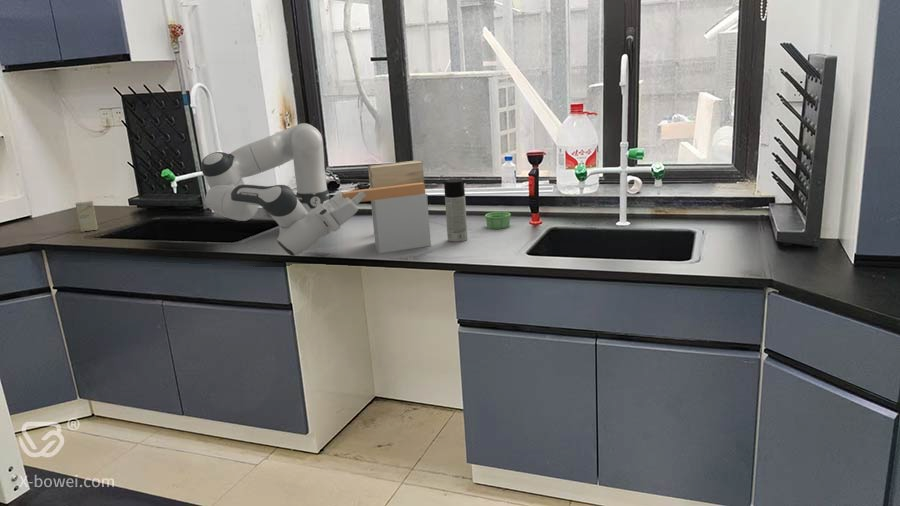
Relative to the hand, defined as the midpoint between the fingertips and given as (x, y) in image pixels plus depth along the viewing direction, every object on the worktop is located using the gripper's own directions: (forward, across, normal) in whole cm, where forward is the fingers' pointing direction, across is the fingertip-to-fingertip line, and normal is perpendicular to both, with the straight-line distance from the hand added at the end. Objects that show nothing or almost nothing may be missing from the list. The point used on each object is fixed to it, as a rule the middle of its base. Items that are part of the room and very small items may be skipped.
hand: (361, 191), depth 203 cm
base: (0, 0, -23) cm, 23 cm away
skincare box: (-94, -101, +31) cm, 141 cm away
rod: (+5, 0, -6) cm, 8 cm away
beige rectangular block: (+2, -9, -24) cm, 26 cm away
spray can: (+16, +1, -33) cm, 36 cm away
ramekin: (+32, -9, -42) cm, 54 cm away
